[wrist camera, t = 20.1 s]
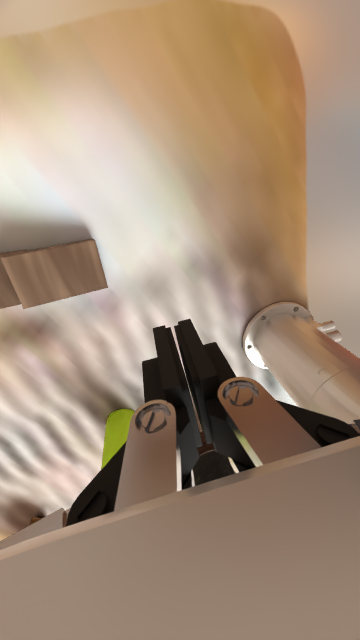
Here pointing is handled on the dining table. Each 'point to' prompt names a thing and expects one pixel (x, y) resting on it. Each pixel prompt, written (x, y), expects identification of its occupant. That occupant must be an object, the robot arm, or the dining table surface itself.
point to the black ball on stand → (210, 464)
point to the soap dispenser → (116, 433)
